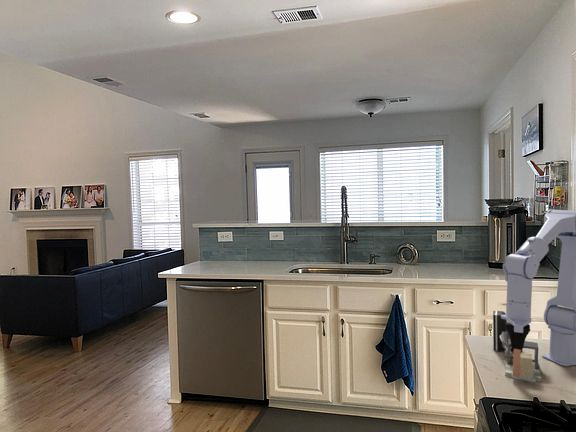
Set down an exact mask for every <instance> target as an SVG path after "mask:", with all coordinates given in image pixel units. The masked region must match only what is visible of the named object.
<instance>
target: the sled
mask: <svg viewBox="0 0 576 432" xmlns="http://www.w3.org/2000/svg"><path fill="white" fill-rule="evenodd" d="M512 353H513V354H512V356H513V366H512V377H511V379H515V380H521V381H525V382H526V381H527V382H532V383H536V382H537V381H536V379H535V372H534V369H532V359H533V355H532V353H528V352H522V353H521V348H516V347H514V352H512Z"/></svg>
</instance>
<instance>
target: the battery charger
mask: <svg viewBox="0 0 576 432" xmlns="http://www.w3.org/2000/svg"><path fill="white" fill-rule="evenodd" d="M492 312H493V314H492V322H493V323H492V330H493V332H492V336H493V337H492V339H493V340H492V341H493V348H492V349H493V350H494V351H500V352H503V351H505V346H506V344H505V343H504V342H503V340H502V338H501V334H502V332H506V330H507V329H506V323H507V320H506V319H501V315H506V311H502V310H493V311H492Z"/></svg>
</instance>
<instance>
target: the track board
mask: <svg viewBox="0 0 576 432" xmlns="http://www.w3.org/2000/svg"><path fill="white" fill-rule="evenodd" d="M507 356H508V354H507V355H505V364H504V366H505V368H504V369H505V372H504V373H505V375H504V376H505V377H509V378H512V366H513V355H510V364H507ZM532 369H534V372H535V379H536V382H540V383H542V376H541V375H542V374H541V369H540V364H539V362H538V369H536V368H535V364H534V359H533V358H532Z"/></svg>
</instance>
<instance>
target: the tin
mask: <svg viewBox="0 0 576 432" xmlns="http://www.w3.org/2000/svg"><path fill="white" fill-rule="evenodd" d="M507 322H508V321H507ZM509 323H510V322H509ZM500 339H501V341H502V342H503V343H504V344H505V346H506V347H507V348H508V339H510V336H509V333H508V331H507V330H506V332H502V334H501V335H500ZM511 351H512V348H511V346H510V352H511Z"/></svg>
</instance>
